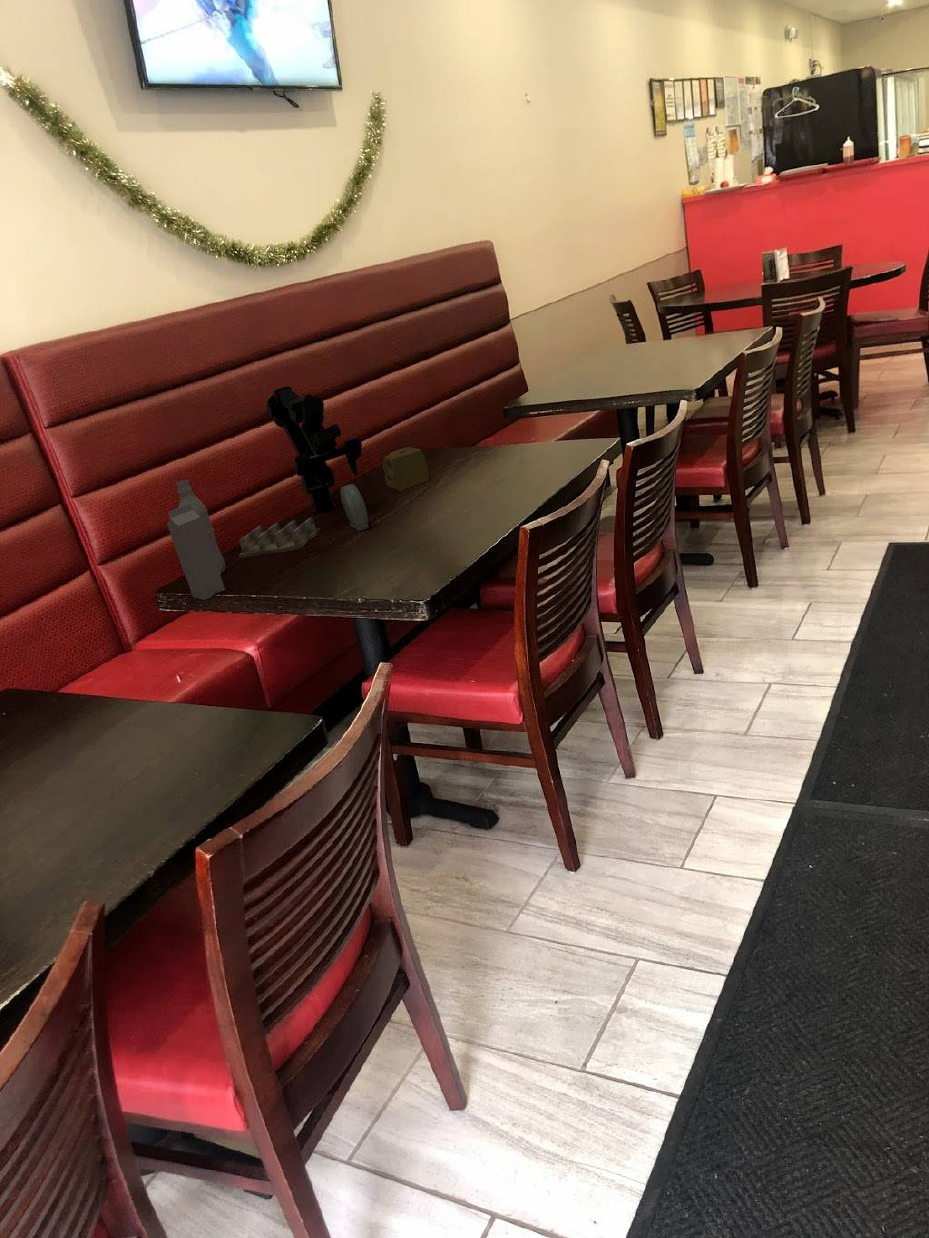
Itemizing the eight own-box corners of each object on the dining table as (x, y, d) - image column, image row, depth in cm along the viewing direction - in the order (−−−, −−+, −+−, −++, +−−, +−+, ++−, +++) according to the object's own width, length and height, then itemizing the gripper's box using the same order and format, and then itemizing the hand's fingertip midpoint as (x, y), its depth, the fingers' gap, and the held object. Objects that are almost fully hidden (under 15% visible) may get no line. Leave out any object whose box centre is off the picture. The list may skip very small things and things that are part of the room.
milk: (225, 591, 238) (196, 503, 230) (204, 600, 235) (173, 512, 227) (213, 588, 242) (184, 502, 235) (192, 597, 239) (162, 511, 231)
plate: (348, 525, 269) (336, 484, 264) (357, 521, 269) (346, 481, 265) (362, 532, 258) (350, 489, 254) (371, 528, 259) (360, 486, 255)
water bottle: (220, 578, 249) (188, 483, 240) (195, 582, 251) (162, 488, 242) (232, 567, 256) (200, 475, 247) (207, 571, 258) (175, 480, 249)
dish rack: (263, 540, 275) (258, 524, 274) (320, 531, 269) (316, 515, 268) (240, 558, 263) (234, 542, 261) (299, 549, 257) (294, 533, 255)
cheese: (387, 487, 300) (378, 455, 297) (418, 476, 304) (410, 445, 300) (398, 492, 291) (390, 459, 287) (431, 481, 294) (423, 448, 291)
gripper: (284, 427, 260) (308, 472, 255) (349, 408, 266) (374, 451, 261) (285, 454, 270) (308, 497, 264) (348, 434, 276) (372, 476, 270)
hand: (340, 480), depth 265 cm, fingers open, 9 cm apart
